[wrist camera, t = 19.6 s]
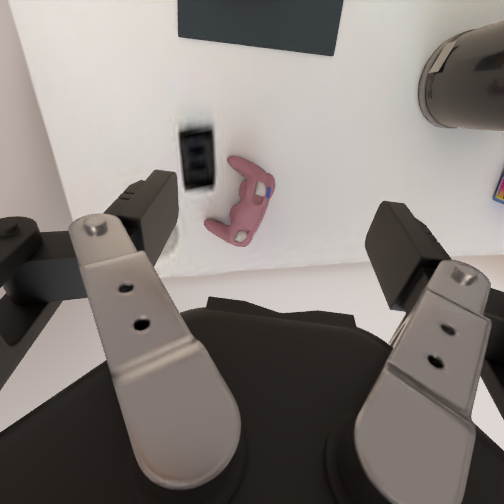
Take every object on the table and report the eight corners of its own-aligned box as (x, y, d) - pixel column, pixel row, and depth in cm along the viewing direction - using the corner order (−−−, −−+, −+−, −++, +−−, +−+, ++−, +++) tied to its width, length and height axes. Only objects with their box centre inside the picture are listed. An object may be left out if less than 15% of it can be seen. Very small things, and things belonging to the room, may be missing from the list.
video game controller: (229, 229, 40) (253, 257, 35) (199, 225, 37) (221, 254, 32) (257, 160, 36) (289, 181, 32) (226, 149, 34) (256, 170, 29)
